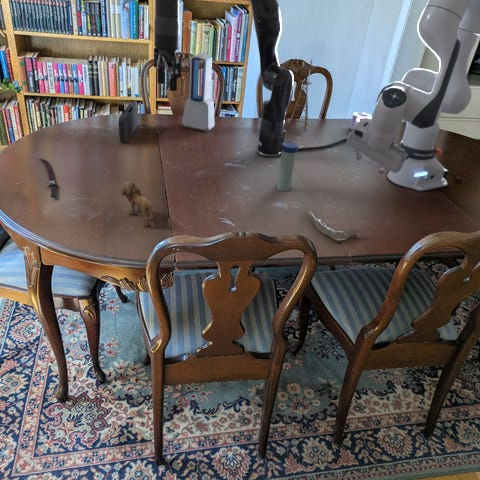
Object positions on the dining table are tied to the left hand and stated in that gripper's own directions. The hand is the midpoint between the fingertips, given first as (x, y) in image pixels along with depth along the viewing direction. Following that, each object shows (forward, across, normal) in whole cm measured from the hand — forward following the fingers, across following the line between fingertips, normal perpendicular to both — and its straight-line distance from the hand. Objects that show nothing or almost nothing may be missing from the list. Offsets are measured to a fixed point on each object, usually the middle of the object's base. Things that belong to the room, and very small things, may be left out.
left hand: (166, 86), depth 148 cm
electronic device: (+29, +34, -32) cm, 55 cm away
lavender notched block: (+29, +1, -102) cm, 106 cm away
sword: (+29, +10, +38) cm, 49 cm away
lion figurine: (+29, -25, +21) cm, 44 cm away
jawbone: (+29, -54, -29) cm, 68 cm away
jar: (+29, -27, -31) cm, 51 cm away
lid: (+14, -27, -31) cm, 44 cm away
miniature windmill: (+29, +20, -77) cm, 85 cm away
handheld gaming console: (+29, +38, -2) cm, 48 cm away
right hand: (+19, -42, -56) cm, 72 cm away
